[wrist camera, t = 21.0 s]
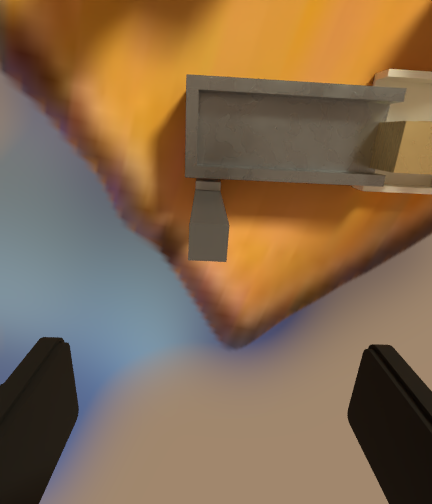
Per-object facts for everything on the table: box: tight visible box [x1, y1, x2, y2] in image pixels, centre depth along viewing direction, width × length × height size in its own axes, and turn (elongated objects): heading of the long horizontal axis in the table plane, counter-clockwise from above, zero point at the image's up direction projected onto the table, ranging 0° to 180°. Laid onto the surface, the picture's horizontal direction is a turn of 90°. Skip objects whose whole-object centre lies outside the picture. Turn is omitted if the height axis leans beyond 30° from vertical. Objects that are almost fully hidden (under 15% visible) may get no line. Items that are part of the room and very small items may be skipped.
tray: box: [352, 69, 432, 194], centre depth 31 cm, size 9×11×2 cm
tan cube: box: [369, 121, 432, 175], centre depth 27 cm, size 4×4×4 cm
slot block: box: [185, 75, 407, 187], centre depth 29 cm, size 18×8×6 cm, turn 87°
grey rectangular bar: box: [188, 178, 229, 262], centre depth 27 cm, size 2×4×16 cm, turn 176°
